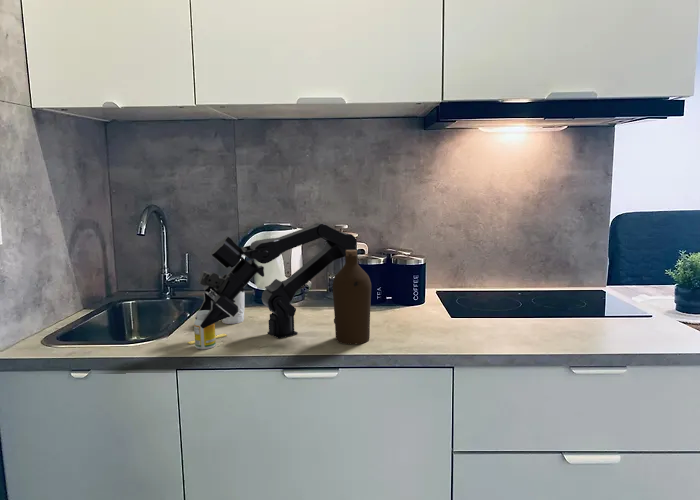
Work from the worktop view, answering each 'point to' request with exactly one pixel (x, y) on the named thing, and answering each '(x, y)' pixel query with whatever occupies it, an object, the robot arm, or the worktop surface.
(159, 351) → the worktop surface
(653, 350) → the worktop surface
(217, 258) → the robot arm
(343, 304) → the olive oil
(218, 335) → the yellow flat stick
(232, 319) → the white cup
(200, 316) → the supplement bottle
